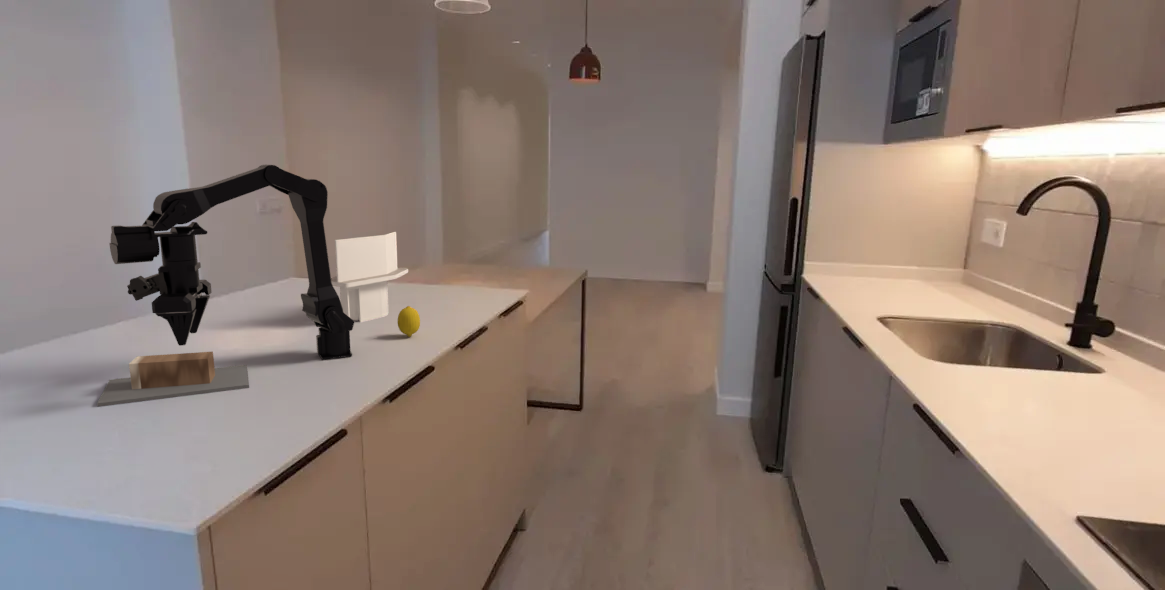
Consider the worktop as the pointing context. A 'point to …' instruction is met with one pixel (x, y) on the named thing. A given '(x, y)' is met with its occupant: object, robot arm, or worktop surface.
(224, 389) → the slate mat
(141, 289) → the robot arm
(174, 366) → the walnut block
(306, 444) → the worktop surface
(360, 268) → the architectural model
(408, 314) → the lemon
